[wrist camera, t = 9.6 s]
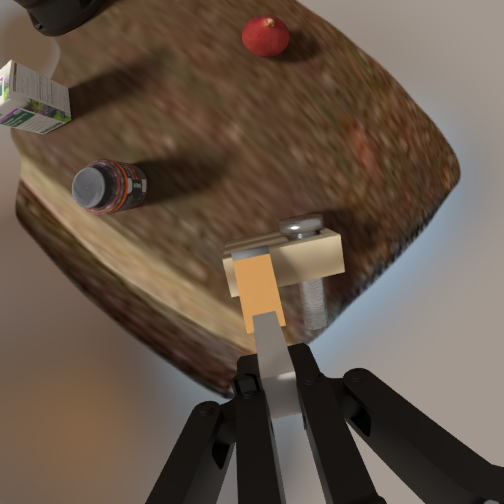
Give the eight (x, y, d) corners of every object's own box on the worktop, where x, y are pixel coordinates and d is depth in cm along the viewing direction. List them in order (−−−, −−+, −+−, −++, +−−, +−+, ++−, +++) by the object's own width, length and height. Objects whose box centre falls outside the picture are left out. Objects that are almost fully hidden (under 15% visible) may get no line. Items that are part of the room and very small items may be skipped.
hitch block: (225, 242, 37) (222, 259, 28) (316, 223, 37) (340, 234, 28) (232, 271, 38) (231, 297, 29) (320, 252, 38) (344, 271, 29)
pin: (275, 220, 34) (282, 225, 29) (315, 212, 34) (328, 216, 29) (293, 319, 37) (301, 337, 32) (329, 310, 37) (341, 327, 32)
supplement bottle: (156, 174, 35) (124, 170, 24) (138, 216, 36) (101, 229, 25) (118, 157, 34) (76, 148, 23) (102, 198, 35) (56, 205, 24)
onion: (233, 41, 31) (233, 11, 23) (270, 26, 31) (277, -4, 23) (254, 72, 32) (259, 45, 25) (292, 56, 32) (305, 29, 24)
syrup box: (43, 135, 32) (-22, 124, 18) (41, 102, 30) (-20, 82, 16) (72, 120, 32) (9, 100, 18) (69, 86, 31) (11, 57, 16)
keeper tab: (232, 254, 28) (230, 250, 27) (267, 246, 28) (267, 243, 27) (248, 333, 26) (247, 333, 25) (284, 325, 26) (285, 325, 25)
